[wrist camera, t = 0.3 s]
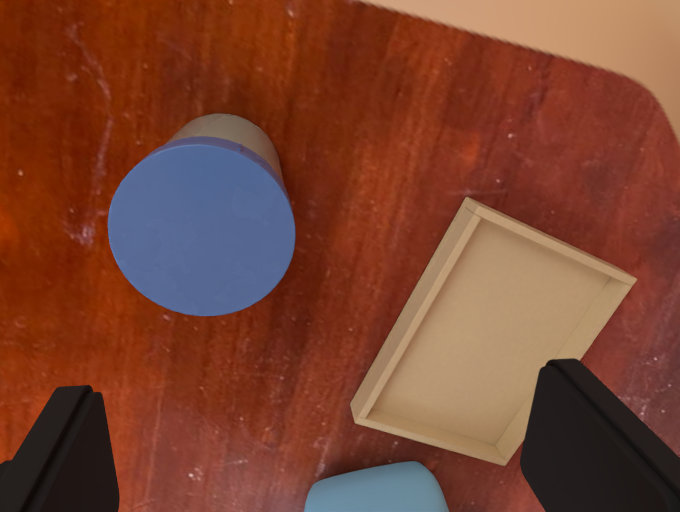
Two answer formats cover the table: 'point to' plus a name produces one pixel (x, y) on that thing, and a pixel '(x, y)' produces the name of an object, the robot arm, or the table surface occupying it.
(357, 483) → the teapot
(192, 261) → the lid
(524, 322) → the tray
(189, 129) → the jam jar
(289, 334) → the table surface
